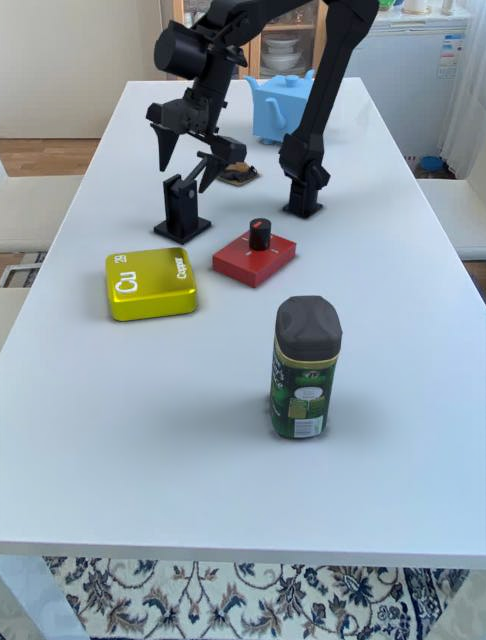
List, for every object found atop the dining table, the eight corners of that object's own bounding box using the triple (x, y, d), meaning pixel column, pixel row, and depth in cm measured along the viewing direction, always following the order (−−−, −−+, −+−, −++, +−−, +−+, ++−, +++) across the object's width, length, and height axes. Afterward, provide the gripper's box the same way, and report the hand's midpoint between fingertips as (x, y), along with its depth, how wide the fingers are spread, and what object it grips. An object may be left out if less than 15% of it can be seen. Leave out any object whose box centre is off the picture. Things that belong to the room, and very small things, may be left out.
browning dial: (257, 237, 108) (258, 214, 104) (274, 244, 106) (276, 220, 102) (244, 246, 106) (245, 222, 102) (261, 253, 104) (263, 229, 100)
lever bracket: (182, 215, 120) (179, 167, 113) (211, 226, 117) (210, 178, 109) (153, 232, 116) (148, 183, 108) (183, 245, 112) (179, 195, 105)
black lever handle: (201, 156, 114) (198, 146, 112) (222, 163, 112) (220, 153, 110) (167, 195, 112) (163, 186, 110) (188, 203, 109) (184, 194, 107)
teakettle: (333, 150, 141) (342, 85, 130) (261, 158, 138) (264, 93, 127) (307, 122, 153) (313, 60, 142) (240, 129, 150) (242, 67, 140)
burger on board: (204, 174, 133) (204, 158, 131) (228, 162, 137) (228, 147, 134) (237, 188, 128) (237, 172, 125) (262, 175, 132) (262, 159, 129)
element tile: (198, 312, 97) (197, 289, 94) (112, 323, 96) (107, 300, 92) (186, 265, 107) (185, 242, 104) (108, 274, 106) (103, 251, 102)
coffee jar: (265, 392, 84) (273, 288, 70) (318, 391, 84) (336, 286, 70) (271, 443, 77) (281, 339, 64) (329, 441, 77) (351, 337, 64)
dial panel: (253, 240, 113) (253, 225, 110) (295, 256, 108) (296, 242, 106) (212, 269, 106) (212, 254, 104) (255, 288, 102) (255, 273, 99)
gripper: (137, 59, 89) (113, 158, 98) (228, 102, 83) (194, 205, 92) (178, 71, 98) (153, 161, 106) (263, 111, 92) (229, 204, 100)
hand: (180, 182), depth 101 cm, fingers open, 9 cm apart
